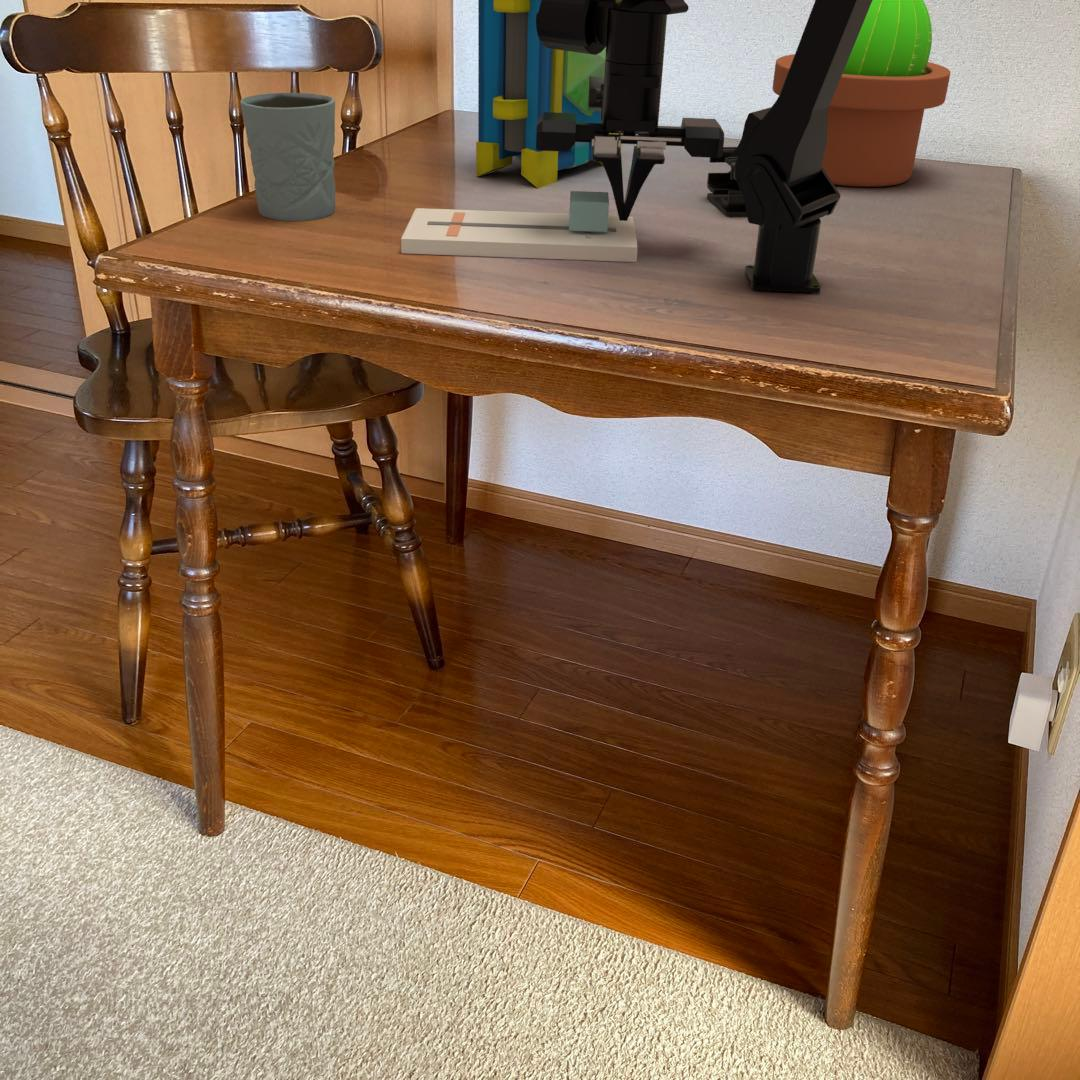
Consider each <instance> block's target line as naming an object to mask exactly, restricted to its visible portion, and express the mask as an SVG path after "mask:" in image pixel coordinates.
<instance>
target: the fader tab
mask: <svg viewBox="0 0 1080 1080" xmlns="http://www.w3.org/2000/svg"><path fill="white" fill-rule="evenodd" d="M569 192H570V195H569V197H570V198H569V214H570V215H569V231H593V232H607V230H608V215H609V212H610V211H609V209H610V198H609V197H610V196H609V192H606V191H583V190H582V191H581V190H580V191H579V190H570V191H569Z"/></svg>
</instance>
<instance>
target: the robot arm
mask: <svg viewBox="0 0 1080 1080" xmlns="http://www.w3.org/2000/svg"><path fill="white" fill-rule="evenodd" d="M871 3H872V0H814V3H813V5H812V9H811V11H810V14H809V16H808V18H807V21H806V24H805V27H804V29H803V32H802V34H801V38H800V40H799V43H798V44H797V48H796V50H795V53H794V54H795V56H794V58H793V61H792V63H791V66H790V69H789V71H788V74H787V77H786V79H785V82H784V85H783V87H782V90H781V93H780V95H778V96H777V99H776V100H775V102H774V103H773V104H772V106H770V107H766V108H763V109H760V110H755V111H752V112H749V113H748V114H747V116H746V119H745V121H744V125H743V131H742V134H741V139H740V141H739V143H738V145H737V146H736V147H737V148H736V149H735V150H734V151H733V153H732V156H733V157H735V156H738V158H737V160H736V163H735V168H734V178H735V180H736V181H737V184H738V187H739V189H740V191H741V192H742V194H743V197H744V203H745V208H746V213H747V217H746V218H747V222H748V223H749V224H750V225H751V224H752V225H756V226H758V231H757V232H758V233H757V239H756V247H755V255H754V261H753V262H754V263H753V265H745V268H744V272H745V274H746V277H747V280H748V282H749V284H750V286H751V289H752V290H754V291H770V292H771V291H772V292H773V291H774V292H795V293H796V292H800V293H801V292H802V293H820V292H821V289H822V287H821V285H820V283H819V281H818V279H817V277H816V276H815V274H814V268H815V262H816V256H817V249H818V243H819V236H820V230H821V223H822V221H821V218H824V217H826V216H829V215H830V216H831V215H832V214H833V213H834V210H835V208H836V207H837V205H838V203H839V201H840V199H841V193H840V191H839V190H838V189H837V187H836V185H834V184H833V183H832V181H831V180H830V178H829V176H828V175H827V173H826V172H825V170H824V169H823V167H822V166H821V165H822V161H823V157H824V153H825V149H826V145H827V114H828V109H829V106H830V103H831V101H832V98H833V96H834V93H835V91H836V88H837V86H838V84H839V81H840V79H841V76H842V74H843V71H844V69H845V66H846V64H847V62H848V59H849V57H850V54H851V52H852V49H853V47H854V44H855V42H856V40H857V37H858V35H859V32H860V30H861V27H862V25H863V22H864V20H865V18H866V15H867V13H868V10H869V8H870V5H871ZM688 11H689V4H688V3H687V2H686V0H542V2H541V4H540V7H539V12H538V13H537V14H536V29H537V34H538V37H539V39H540V41H541V43H542V44H543V45H544V46H545V47H546V48H550V49H557V50H564V51H571V52H578V53H585V54H592V55H597V54H599V53H601V52H602V51H603V50H604V49H605V47H606V56H605V74H604V77H595V76H590V77H589V95H588V110H589V111H601V121H602V123H577V122H576V113H556V112H544V113H543V114H542V115H541V116H540V117H539V118H538V122H537V132H536V149H537V150H541V151H561V152H567V151H568V150H569V149H570V148H571V147H572V146H573V145H574V144H575V142H592V160H591V161H593V162H598V163H599V162H602V163H603V165H602V167H603V168H604V171H605V173H606V176H607V179H608V180H609V183H610V186H611V190H612V194H613V195H612V196H613V199H614V202H615V206H616V211H617V215H618V216H619V220H620V221H623V220H624V221H627V220H628V217H629V216H631V213H632V210H633V207H634V205H635V203H636V201H637V198H638V196H639V193H640V191H641V189H642V187H643V185H644V184H645V181H646V180H647V179H648V176H649V175H650V174H651V172H652V170H653V168H654V167H655V165H664V164H665V160H666V158H665V154H664V150H666V149H667V148H666V147H667V146H669V147H670V146H671V147H684V149H685V151H686V152H687V153H688V154H689V156H690V157H691V158H707V159H708V158H709V159H710V158H719V157H722V155H723V147H725V146H724V144H725V132H724V129H722V125H721V124H720V123H719V122H718V120H717V119H716V118H704V117H703V118H699V117H682V119H681V124H680V126H670V125H669V126H668V125H659V121H660V120H659V118H660V108H661V107H660V106H661V105H660V104H661V97H662V96H661V95H662V85H663V84H662V82H663V81H662V80H663V73H664V71H663V70H664V57H665V46H666V36H667V35H666V33H667V20H668V16H669V15H675V14H676V15H677V14H684V13H687V12H688ZM609 133H611V134H609ZM613 133H615V134H613ZM617 133H618V134H617ZM621 134H622V135H621ZM620 144H621V145H625V144H626V145H634V146H633V151H632V152H633V153H632V159H631V165H630V170H629V174H628V175H629V176H628V181H627V187H626V191H625V194H624V182H623V181H624V180H623V165H622V164H623V163H622V149H621V150H620ZM624 195H625V196H624Z"/></svg>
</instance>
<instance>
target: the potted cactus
mask: <svg viewBox="0 0 1080 1080" xmlns="http://www.w3.org/2000/svg"><path fill="white" fill-rule="evenodd" d="M927 7H928V8H927ZM931 8H932V5H930V6H927V5H926V3H925V1H924V0H872V3H871V5H870V8H869V10H868V13H867V15H866V18H865V20H864V22H863V25H862V27H861V30H860V32H859V35H858V37H857V40H856V42H855V44H854V47H853V49H852V52H851V54H850V57H849V59H848V62H847V64H846V66H845V69H844V71H843V74H842V76H841V79H840V81H839V84H838V86H837V88H836V91H835V93H834V96H833V98H832V101H831V103H830V106H829V109H828V114H827V145H826V149H825V153H824V157H823V161H822V165H821V166H822V167H823V169H824V170H825V172H826V173H827V175H828V176H829V178H830V180H831V181H832V183H833V184H834V186H841V187H842V186H845V187H859V188H862V187H863V188H870V187H871V188H875V187H877V188H878V187H879V188H880V187H881V188H882V187H891V186H896V185H900V184H902V183H905V182H907V181H908V180H909V179H910V178H911V177H912V175H913V170H914V166H915V160H916V154H917V148H918V144H919V139H920V134H921V128H922V124H923V118H924V114H925V110H927V109H933V108H937V107H939V106H942V105H944V103H945V101H946V97H947V94H948V93H947V92H948V88H949V83H950V77H951V71H950V69H949V68H947V67H945V66H943V65H940V64H937V63H935V62H932V60H936V59H932V58H931V59H930V56H931V50H932V45H933V44H932V42H933V40H934V39H933V32H935V29H932V23H933V22H934V21H933V20H932V21H931V18H933V17H934V16H935V14H933V15H931V16H930V13H929V10H930V9H931ZM794 56H795V53H794V54H787V55H784V56H780V57H778V58H777V59H776V61H775V64H774V65H775V66H774V74H773V80H772V88H771V89H772V91H773V92H774V93H775V94H776V95H778V96H779V95H780V93H781V90H782V87H783V85H784V82H785V79H786V77H787V74H788V71H789V69H790V66H791V63H792V61H793V58H794ZM929 61H930V62H929Z"/></svg>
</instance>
